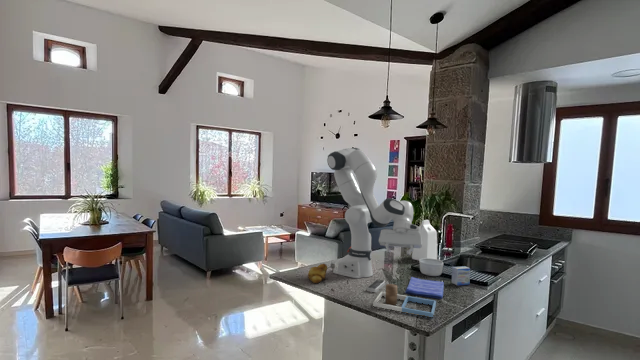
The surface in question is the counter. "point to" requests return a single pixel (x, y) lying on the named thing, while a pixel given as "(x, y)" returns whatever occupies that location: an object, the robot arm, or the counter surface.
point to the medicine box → (461, 275)
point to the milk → (426, 242)
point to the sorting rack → (406, 298)
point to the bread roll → (317, 273)
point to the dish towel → (425, 288)
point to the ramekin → (431, 266)
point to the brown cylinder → (391, 294)
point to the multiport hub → (376, 285)
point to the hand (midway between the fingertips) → (398, 253)
